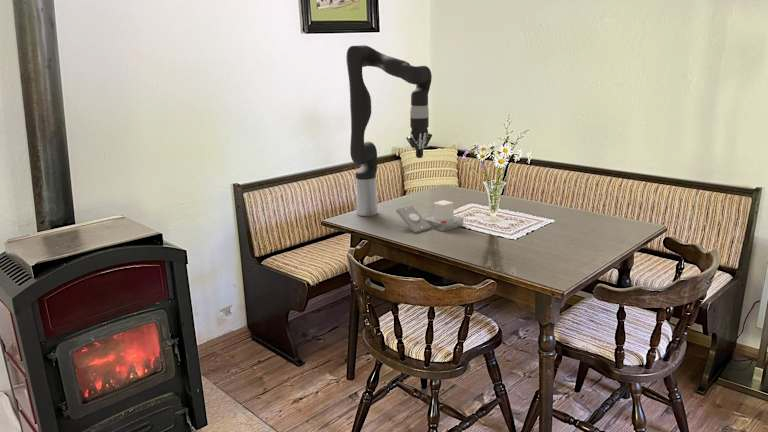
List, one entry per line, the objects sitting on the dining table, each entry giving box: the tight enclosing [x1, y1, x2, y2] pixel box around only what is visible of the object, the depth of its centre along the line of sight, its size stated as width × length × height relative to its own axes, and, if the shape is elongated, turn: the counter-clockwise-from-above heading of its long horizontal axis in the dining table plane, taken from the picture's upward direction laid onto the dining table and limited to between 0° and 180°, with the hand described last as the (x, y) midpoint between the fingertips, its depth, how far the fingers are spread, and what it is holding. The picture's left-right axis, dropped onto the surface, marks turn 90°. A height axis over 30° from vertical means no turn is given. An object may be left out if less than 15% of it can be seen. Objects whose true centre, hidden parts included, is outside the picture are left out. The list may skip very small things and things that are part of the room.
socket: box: [423, 215, 464, 232], centre depth 249 cm, size 12×12×4 cm
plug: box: [432, 199, 455, 221], centre depth 248 cm, size 6×6×8 cm
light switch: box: [396, 205, 432, 234], centre depth 248 cm, size 8×6×14 cm
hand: (419, 157), depth 245 cm, fingers closed
